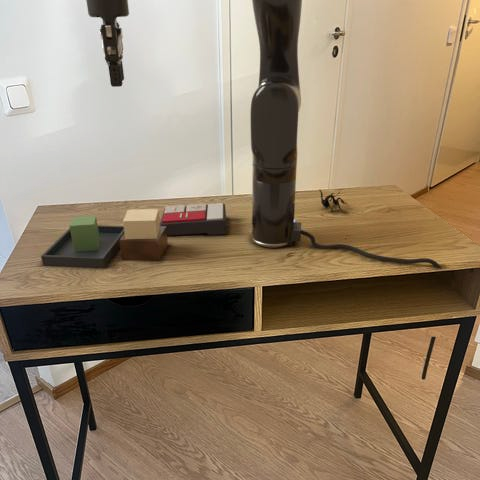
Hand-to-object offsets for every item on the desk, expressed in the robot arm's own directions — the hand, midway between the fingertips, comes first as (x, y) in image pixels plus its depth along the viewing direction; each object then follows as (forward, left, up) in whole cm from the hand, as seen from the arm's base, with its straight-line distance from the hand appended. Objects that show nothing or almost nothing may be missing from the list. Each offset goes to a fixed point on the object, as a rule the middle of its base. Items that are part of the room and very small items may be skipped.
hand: (118, 83), depth 101 cm
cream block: (-5, +11, -27) cm, 30 cm away
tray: (+8, +10, -32) cm, 35 cm away
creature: (-47, -19, -32) cm, 60 cm away
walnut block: (-5, +11, -32) cm, 34 cm away
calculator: (-13, -4, -32) cm, 35 cm away
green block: (+8, +10, -31) cm, 34 cm away
